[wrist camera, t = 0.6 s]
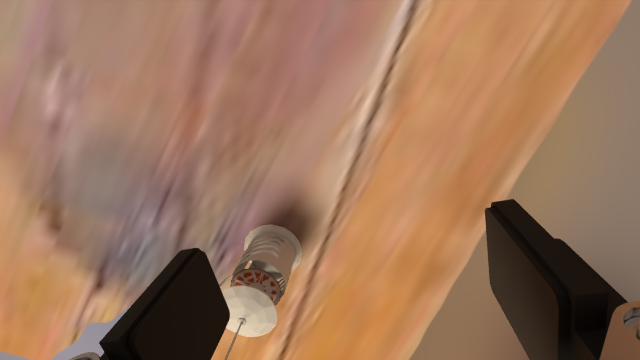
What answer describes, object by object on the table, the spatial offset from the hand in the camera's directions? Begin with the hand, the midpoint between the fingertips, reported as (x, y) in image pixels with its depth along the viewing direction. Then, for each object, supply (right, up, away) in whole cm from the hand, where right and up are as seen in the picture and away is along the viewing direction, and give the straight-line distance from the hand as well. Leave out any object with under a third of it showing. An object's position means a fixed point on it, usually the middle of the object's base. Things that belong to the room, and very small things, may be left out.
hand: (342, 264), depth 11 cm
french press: (-9, -9, +43) cm, 45 cm away
